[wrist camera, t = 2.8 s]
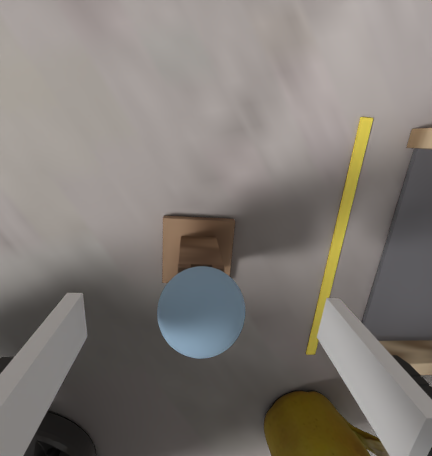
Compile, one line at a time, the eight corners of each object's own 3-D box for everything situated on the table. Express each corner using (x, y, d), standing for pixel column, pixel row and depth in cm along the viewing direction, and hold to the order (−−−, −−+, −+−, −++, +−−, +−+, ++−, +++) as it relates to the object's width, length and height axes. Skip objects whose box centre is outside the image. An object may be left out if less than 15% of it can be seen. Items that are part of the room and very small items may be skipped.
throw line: (305, 353, 28) (306, 354, 28) (360, 117, 21) (361, 117, 21) (314, 353, 28) (315, 354, 28) (371, 118, 21) (373, 118, 21)
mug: (246, 466, 31) (299, 576, 21) (254, 380, 31) (312, 452, 21) (328, 447, 35) (403, 532, 25) (335, 371, 35) (413, 428, 25)
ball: (161, 318, 18) (151, 382, 13) (162, 251, 16) (151, 297, 11) (233, 318, 18) (248, 379, 14) (240, 253, 17) (260, 298, 12)
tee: (163, 278, 24) (153, 326, 18) (164, 215, 22) (153, 244, 16) (227, 279, 24) (240, 325, 18) (233, 218, 23) (250, 248, 16)
